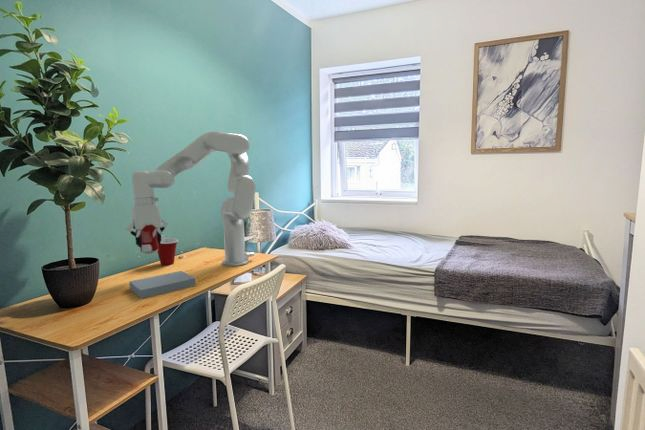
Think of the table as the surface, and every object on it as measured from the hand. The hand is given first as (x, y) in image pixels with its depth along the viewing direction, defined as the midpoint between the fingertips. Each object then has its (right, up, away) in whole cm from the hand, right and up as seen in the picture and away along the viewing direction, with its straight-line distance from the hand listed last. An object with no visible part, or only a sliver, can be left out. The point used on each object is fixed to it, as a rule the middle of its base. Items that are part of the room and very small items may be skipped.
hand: (149, 244), depth 148 cm
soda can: (0, -3, +1) cm, 4 cm away
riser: (+10, -16, -9) cm, 21 cm away
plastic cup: (-3, -12, +25) cm, 28 cm away
